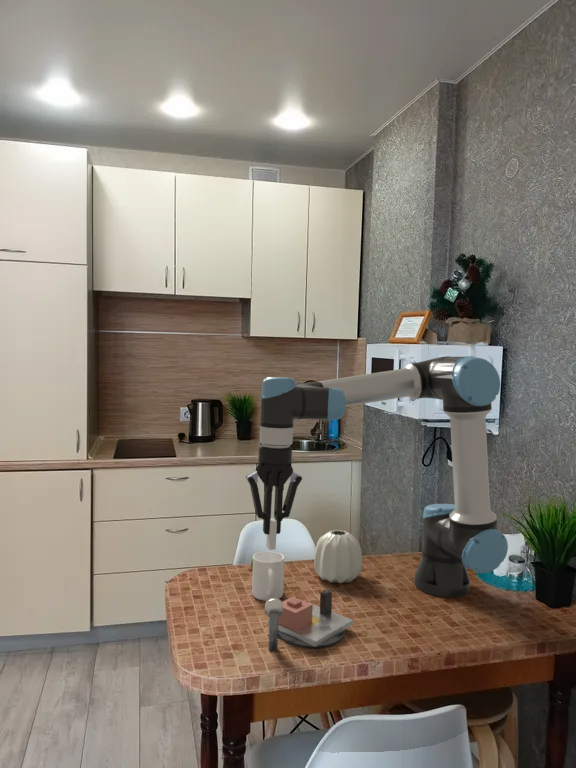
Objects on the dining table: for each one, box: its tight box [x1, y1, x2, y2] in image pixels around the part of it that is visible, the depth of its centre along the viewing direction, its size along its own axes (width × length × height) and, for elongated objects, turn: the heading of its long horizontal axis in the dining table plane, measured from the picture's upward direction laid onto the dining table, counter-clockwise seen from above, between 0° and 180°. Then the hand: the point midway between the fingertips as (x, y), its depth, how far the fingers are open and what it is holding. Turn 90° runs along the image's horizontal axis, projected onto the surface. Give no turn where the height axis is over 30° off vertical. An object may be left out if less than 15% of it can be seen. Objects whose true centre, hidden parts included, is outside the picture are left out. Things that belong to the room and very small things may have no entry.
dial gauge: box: [264, 598, 283, 652], centre depth 123 cm, size 4×3×11 cm, turn 94°
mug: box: [251, 551, 285, 602], centre depth 149 cm, size 12×8×10 cm
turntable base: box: [278, 629, 346, 649], centre depth 132 cm, size 16×16×1 cm
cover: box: [279, 596, 314, 631], centre depth 130 cm, size 6×6×5 cm
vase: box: [313, 529, 363, 584], centre depth 163 cm, size 14×14×13 cm
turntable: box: [267, 588, 354, 647], centre depth 131 cm, size 14×14×6 cm
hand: (270, 547), depth 130 cm, fingers closed
